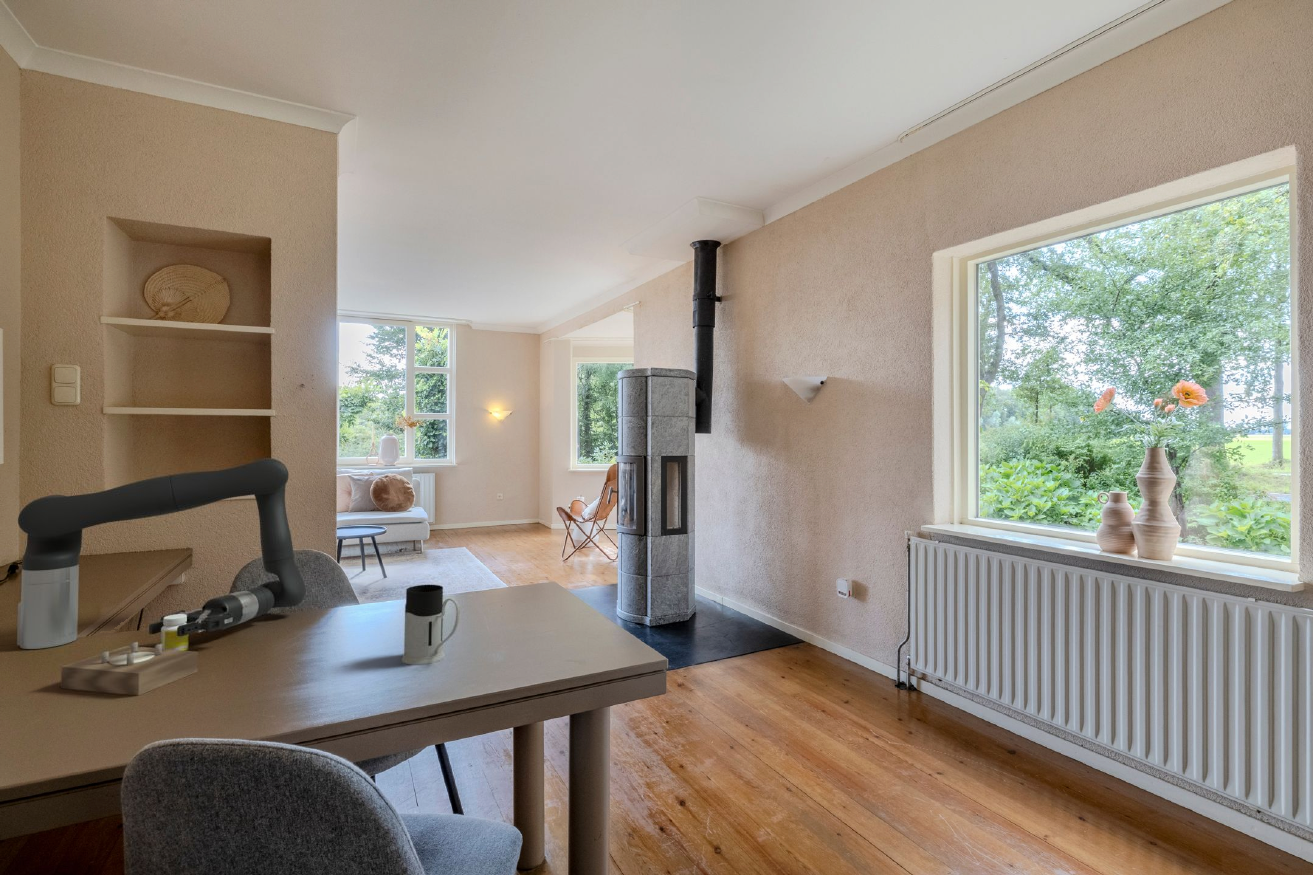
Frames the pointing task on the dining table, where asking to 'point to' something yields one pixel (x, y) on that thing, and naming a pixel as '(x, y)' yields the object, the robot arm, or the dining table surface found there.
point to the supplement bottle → (173, 633)
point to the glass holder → (425, 624)
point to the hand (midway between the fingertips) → (164, 630)
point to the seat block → (129, 670)
